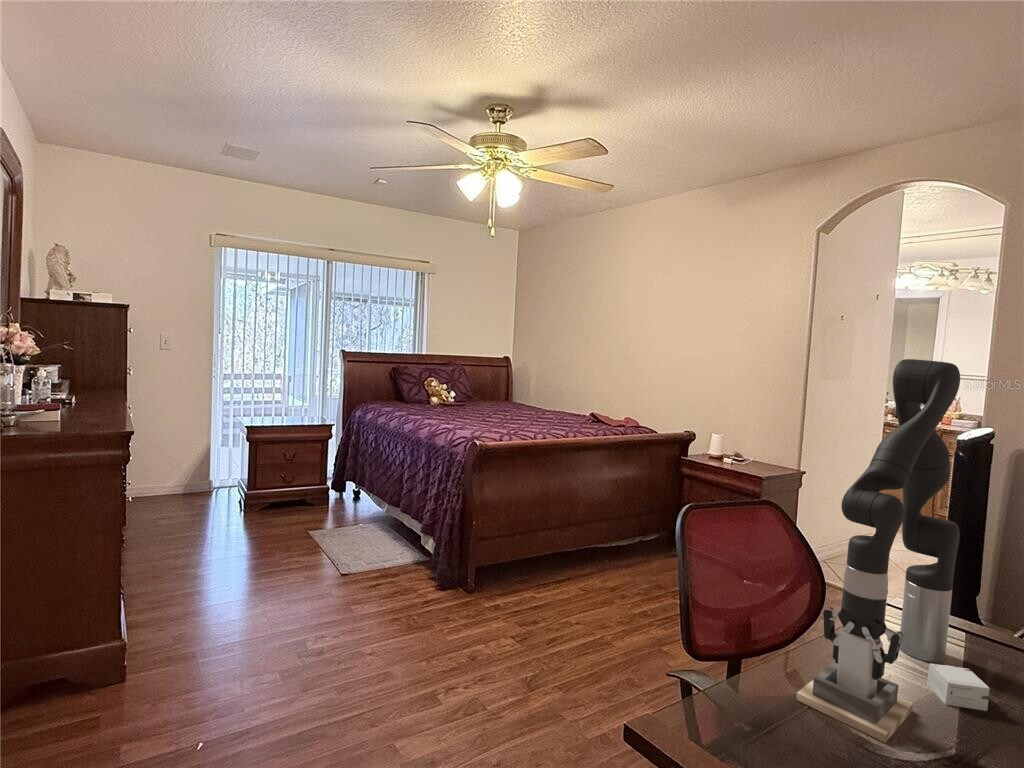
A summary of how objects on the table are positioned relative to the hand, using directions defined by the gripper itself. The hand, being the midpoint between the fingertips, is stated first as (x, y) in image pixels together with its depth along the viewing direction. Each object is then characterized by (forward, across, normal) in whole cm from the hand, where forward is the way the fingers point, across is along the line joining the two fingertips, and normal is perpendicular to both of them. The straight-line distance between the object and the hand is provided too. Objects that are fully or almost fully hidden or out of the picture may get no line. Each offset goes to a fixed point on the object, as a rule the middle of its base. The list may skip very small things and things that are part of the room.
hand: (857, 670), depth 117 cm
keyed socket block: (+7, 0, 0) cm, 7 cm away
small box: (+8, +12, +22) cm, 26 cm away
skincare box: (+5, 0, 0) cm, 5 cm away
